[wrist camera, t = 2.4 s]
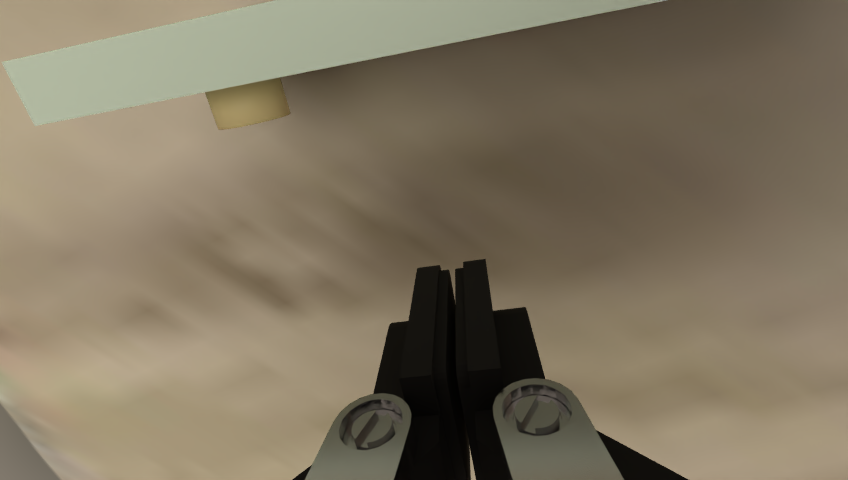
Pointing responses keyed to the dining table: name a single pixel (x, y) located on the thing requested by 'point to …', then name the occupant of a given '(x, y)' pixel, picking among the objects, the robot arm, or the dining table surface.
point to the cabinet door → (262, 52)
